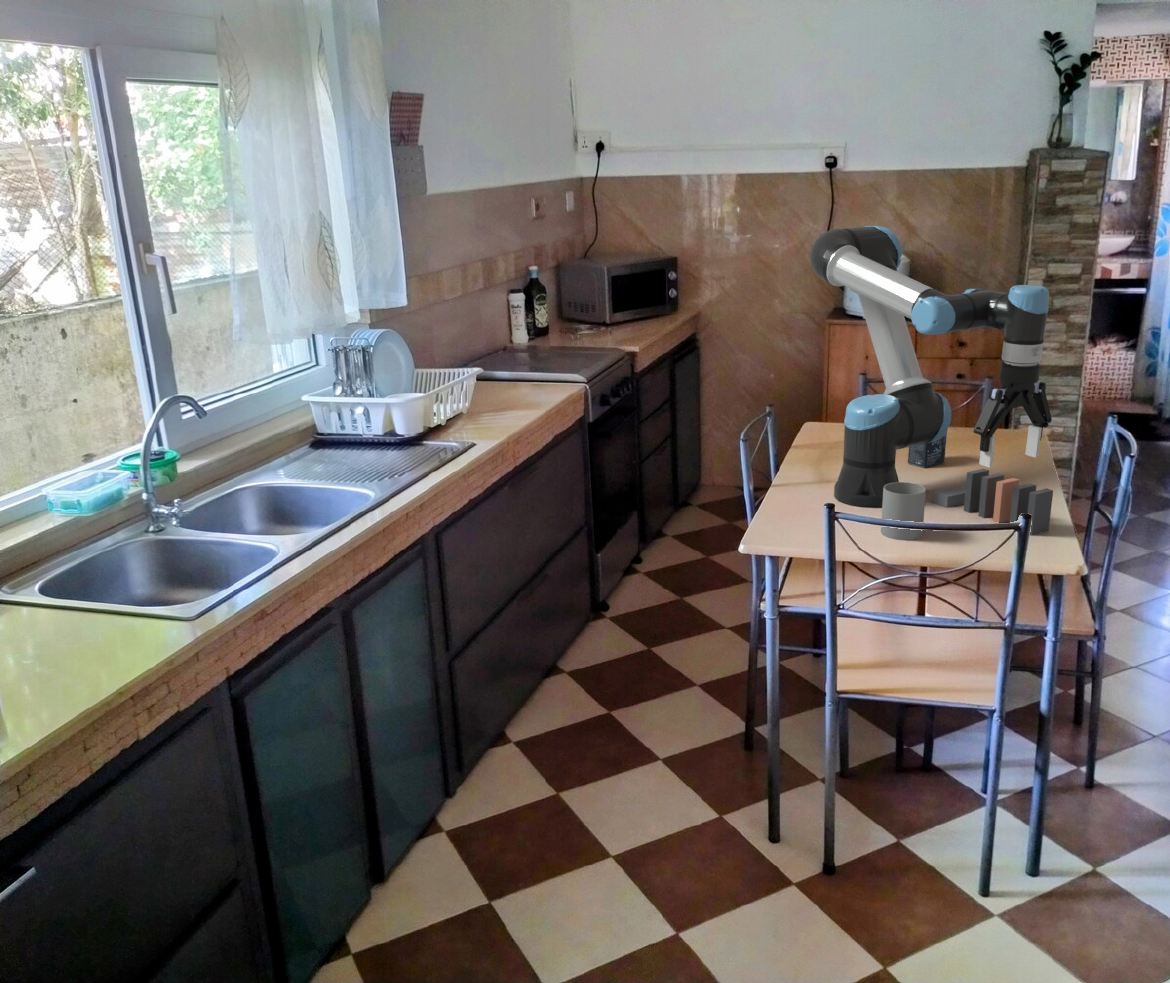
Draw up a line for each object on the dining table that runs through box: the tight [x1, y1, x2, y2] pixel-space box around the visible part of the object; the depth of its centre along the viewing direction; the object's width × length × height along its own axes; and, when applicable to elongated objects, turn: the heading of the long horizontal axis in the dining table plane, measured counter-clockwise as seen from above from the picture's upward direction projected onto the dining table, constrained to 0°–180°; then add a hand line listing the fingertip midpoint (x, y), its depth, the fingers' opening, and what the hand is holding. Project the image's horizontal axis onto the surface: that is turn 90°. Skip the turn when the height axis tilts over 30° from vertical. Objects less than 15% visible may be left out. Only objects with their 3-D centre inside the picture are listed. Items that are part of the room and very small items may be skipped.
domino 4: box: [1009, 482, 1037, 523], centre depth 213 cm, size 5×2×9 cm, turn 116°
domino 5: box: [1028, 488, 1054, 536], centre depth 209 cm, size 5×2×9 cm, turn 116°
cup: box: [880, 481, 927, 541], centre depth 211 cm, size 8×8×10 cm
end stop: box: [933, 485, 966, 508], centre depth 230 cm, size 8×4×2 cm, turn 116°
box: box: [907, 431, 948, 469], centre depth 258 cm, size 8×6×11 cm
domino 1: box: [963, 468, 990, 513], centre depth 224 cm, size 5×2×9 cm, turn 116°
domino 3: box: [992, 477, 1021, 523], centre depth 217 cm, size 5×2×9 cm, turn 116°
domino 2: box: [977, 472, 1005, 519], centre depth 220 cm, size 5×2×9 cm, turn 116°
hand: (1008, 460), depth 214 cm, fingers open, 13 cm apart
